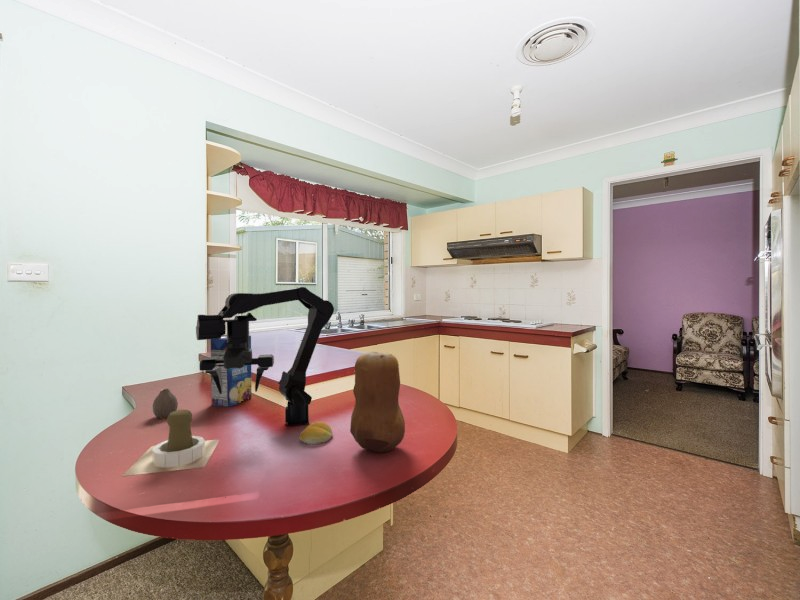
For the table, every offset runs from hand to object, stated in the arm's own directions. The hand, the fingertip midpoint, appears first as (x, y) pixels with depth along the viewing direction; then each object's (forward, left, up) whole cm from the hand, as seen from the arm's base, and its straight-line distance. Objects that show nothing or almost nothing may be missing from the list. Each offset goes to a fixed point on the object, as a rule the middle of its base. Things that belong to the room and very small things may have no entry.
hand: (238, 392), depth 103 cm
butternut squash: (-36, +20, -12) cm, 43 cm away
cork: (+11, +14, -11) cm, 21 cm away
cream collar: (+11, +14, -11) cm, 21 cm away
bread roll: (-21, +8, -12) cm, 26 cm away
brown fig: (+26, -23, -12) cm, 37 cm away
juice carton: (+8, -35, -12) cm, 38 cm away
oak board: (+12, +13, -12) cm, 21 cm away
